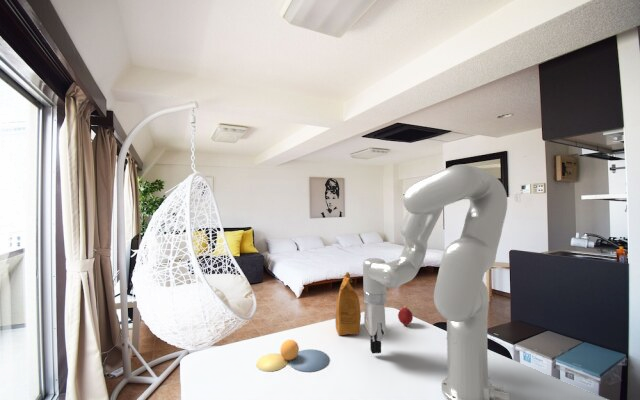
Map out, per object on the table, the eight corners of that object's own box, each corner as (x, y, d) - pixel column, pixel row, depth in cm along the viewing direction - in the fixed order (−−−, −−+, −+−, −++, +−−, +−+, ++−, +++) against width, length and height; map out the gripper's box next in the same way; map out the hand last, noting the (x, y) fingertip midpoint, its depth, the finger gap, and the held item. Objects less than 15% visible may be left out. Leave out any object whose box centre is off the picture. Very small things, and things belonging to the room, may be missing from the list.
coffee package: (359, 323, 122) (358, 271, 122) (361, 337, 109) (360, 279, 110) (336, 323, 123) (335, 271, 123) (335, 336, 110) (334, 278, 110)
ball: (274, 352, 96) (288, 363, 96) (279, 352, 91) (293, 364, 91) (285, 335, 99) (298, 346, 99) (290, 335, 94) (304, 347, 94)
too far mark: (293, 359, 95) (293, 358, 95) (274, 375, 86) (274, 374, 86) (270, 351, 100) (270, 350, 100) (249, 365, 91) (249, 365, 91)
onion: (415, 326, 118) (415, 307, 118) (404, 329, 115) (403, 309, 115) (406, 321, 123) (406, 302, 123) (395, 323, 121) (395, 304, 121)
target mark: (336, 356, 96) (336, 355, 96) (316, 376, 85) (316, 376, 85) (303, 346, 103) (303, 346, 103) (281, 364, 92) (281, 363, 92)
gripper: (359, 290, 103) (359, 341, 103) (369, 305, 88) (370, 365, 88) (379, 289, 104) (380, 340, 103) (393, 304, 89) (394, 364, 89)
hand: (375, 351), depth 96 cm, fingers closed
